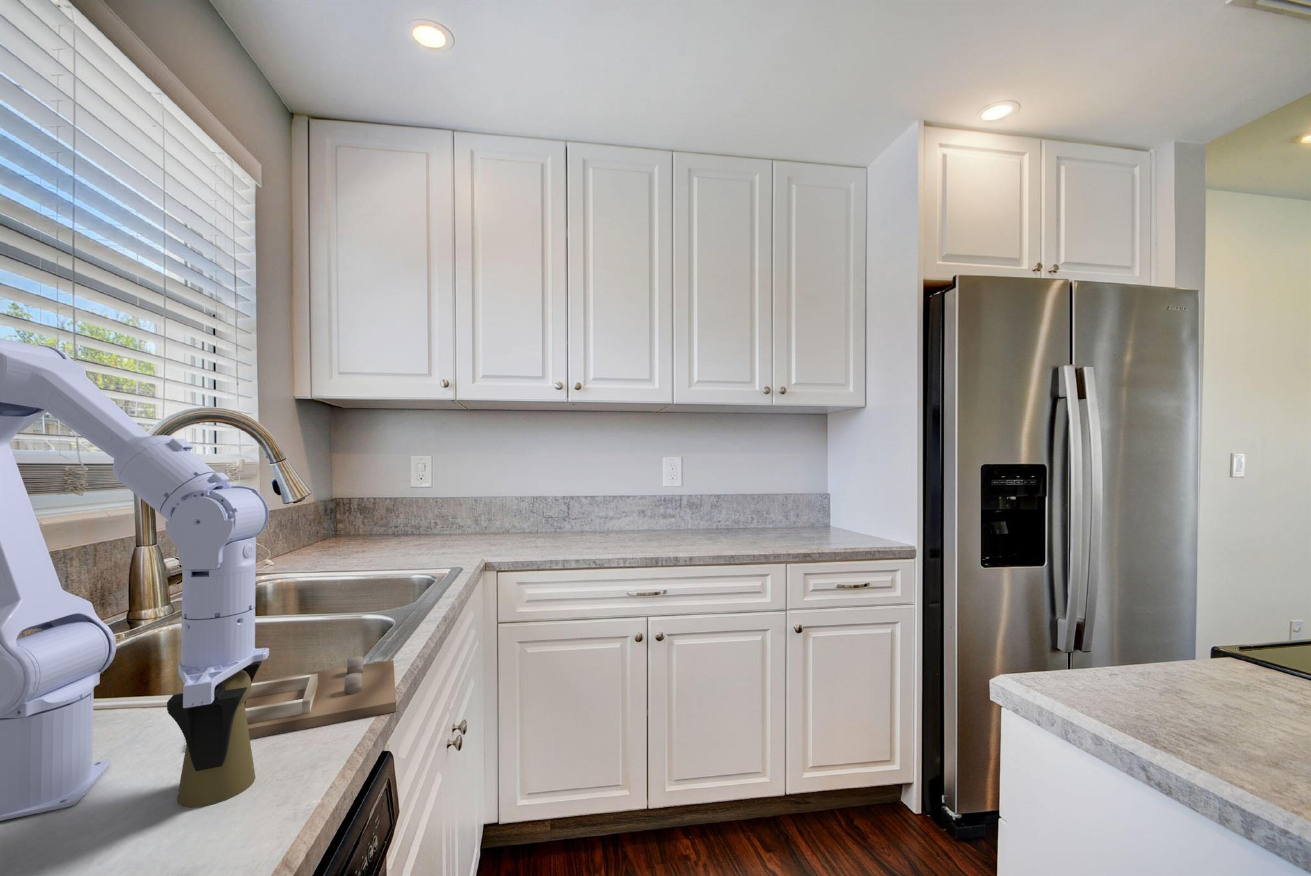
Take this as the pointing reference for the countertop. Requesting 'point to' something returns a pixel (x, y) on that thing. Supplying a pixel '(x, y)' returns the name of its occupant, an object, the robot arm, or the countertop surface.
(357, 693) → the board
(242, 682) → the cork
